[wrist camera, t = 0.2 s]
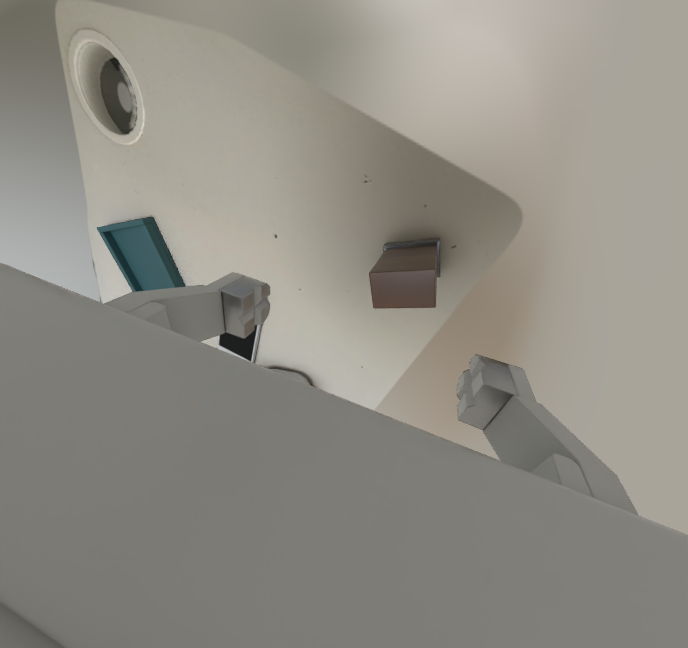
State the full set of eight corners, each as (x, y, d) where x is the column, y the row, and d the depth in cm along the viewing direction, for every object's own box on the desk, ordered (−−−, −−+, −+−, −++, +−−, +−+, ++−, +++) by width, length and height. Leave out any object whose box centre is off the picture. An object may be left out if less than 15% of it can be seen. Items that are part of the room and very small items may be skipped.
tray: (108, 225, 42) (96, 227, 41) (152, 216, 39) (141, 218, 37) (158, 316, 50) (149, 321, 48) (199, 316, 46) (191, 321, 45)
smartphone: (267, 296, 39) (263, 299, 38) (254, 365, 48) (250, 368, 47) (226, 276, 40) (221, 278, 39) (220, 347, 48) (216, 350, 48)
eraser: (384, 243, 30) (364, 269, 22) (440, 238, 28) (439, 264, 20) (387, 276, 32) (370, 311, 24) (439, 273, 30) (439, 311, 22)
